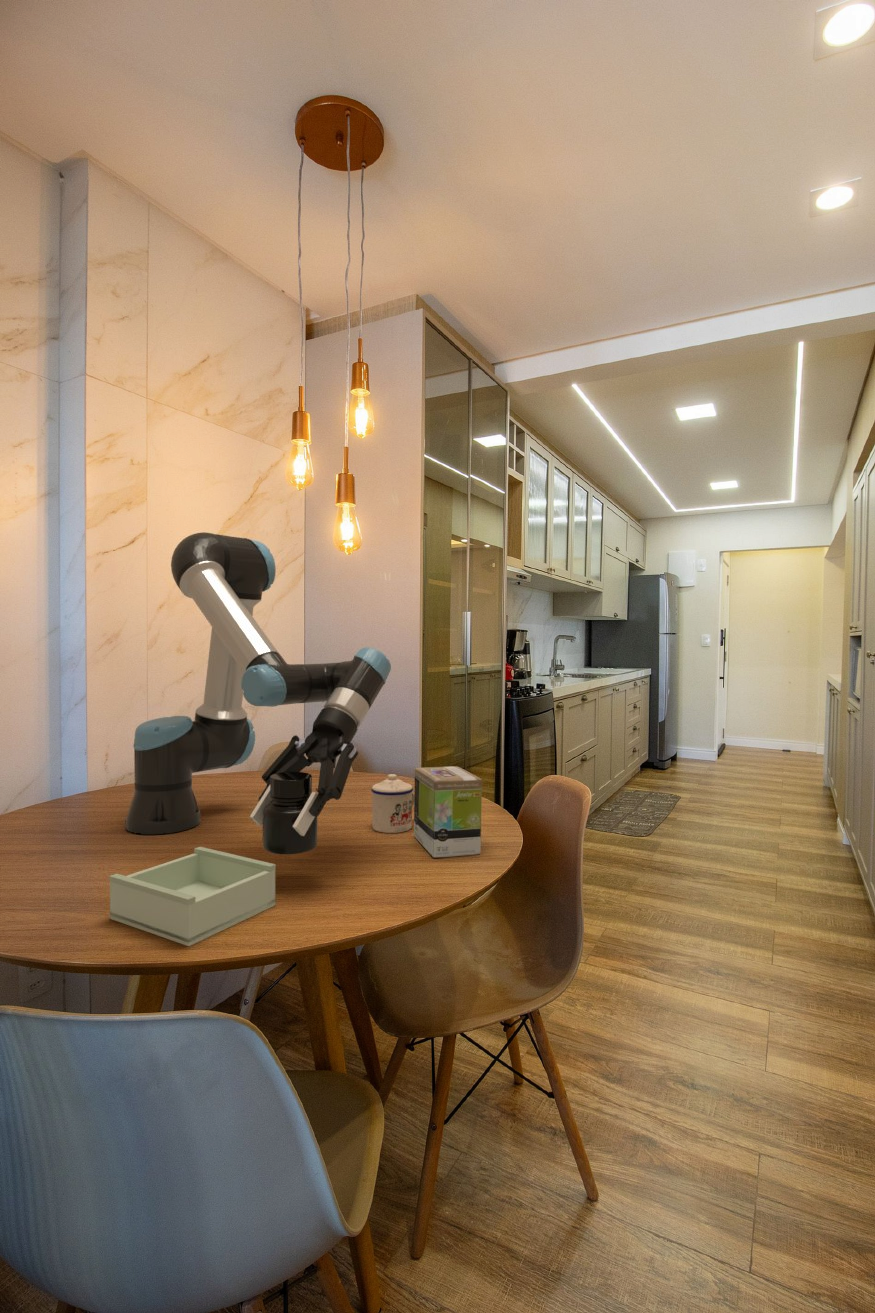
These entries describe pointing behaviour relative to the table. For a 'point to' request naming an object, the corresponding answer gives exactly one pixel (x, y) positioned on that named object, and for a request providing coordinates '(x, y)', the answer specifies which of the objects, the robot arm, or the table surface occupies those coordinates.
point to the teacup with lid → (392, 805)
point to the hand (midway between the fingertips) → (276, 826)
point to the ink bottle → (288, 814)
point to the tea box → (448, 811)
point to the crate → (193, 895)
